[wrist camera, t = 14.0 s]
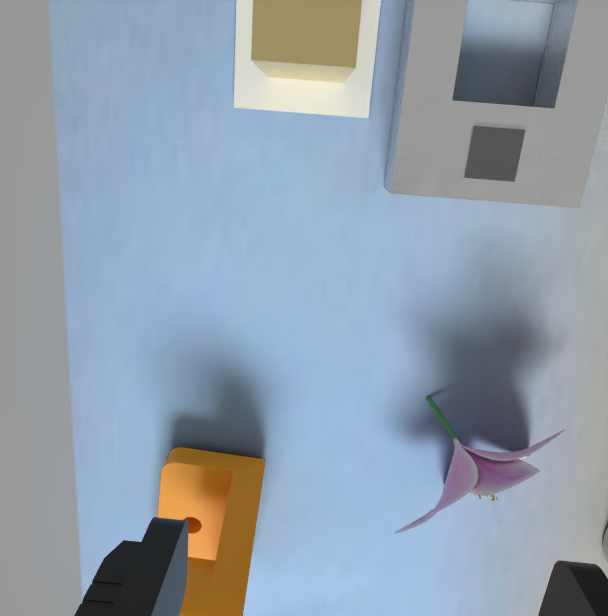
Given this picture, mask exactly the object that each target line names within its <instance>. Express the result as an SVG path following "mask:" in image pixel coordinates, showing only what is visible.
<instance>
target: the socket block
mask: <svg viewBox="0 0 608 616" xmlns="http://www.w3.org/2000/svg"><path fill="white" fill-rule="evenodd" d="M517 1H530V2H542V3H554V8H553V13H552V18H551V23H550V28H549V32H548V37H547V42H546V47H545V52H544V57H543V61H542V66H541V71H540V76H539V81H538V85H537V90H536V95H535V100H534V105H533V107H529V106H517V105H504V104H492V103H479V102H466V101H454V100H452V99H453V93H454V86H455V80H456V74H457V67H458V61H459V55H460V48H461V42H462V36H463V29H464V23H465V17H466V10H467V4H468V0H407V2H406V11H405V19H404V27H403V35H402V43H401V51H400V59H399V67H398V75H397V84H396V92H395V100H394V108H393V116H392V124H391V132H390V140H389V149H388V157H387V165H386V173H385V181H384V188H385V189H386V190H387V191H388V192H389V193H391V194H404V195H417V196H430V197H443V198H456V199H469V200H482V201H495V202H508V203H521V204H534V205H547V206H560V207H573V208H580V204H581V200H582V196H583V192H584V188H585V184H586V180H587V176H588V172H589V168H590V164H591V160H592V156H593V152H594V148H595V144H596V140H597V136H598V132H599V128H600V124H601V120H602V116H603V112H604V108H605V104H606V100H607V96H608V0H517Z"/></svg>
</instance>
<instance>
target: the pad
mask: <svg viewBox="0 0 608 616" xmlns="http://www.w3.org/2000/svg"><path fill="white" fill-rule="evenodd" d="M380 6H381V0H362V7H361V18H360V28H359V39H358V50H357V61H356V68H355V70H354V71H353V72H352V73H351V74H350V76H349V77H348V78H347V79H346V81H345V82H344V83H338V82H324V81H311V80H297V79H283V78H269V77H267V76H266V75H265V74H264V73H263V72H262V71H261V70H260V69H259V68H258V67H257V66H256V65H255V64H254V63H253V62H252V61H251V45H252V12H253V0H237V8H236V46H235V84H234V108H245V109H258V110H270V111H283V112H296V113H308V114H321V115H334V116H347V117H359V118H368V117H369V107H370V98H371V89H372V80H373V71H374V61H375V52H376V43H377V34H378V24H379V15H380Z"/></svg>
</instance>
